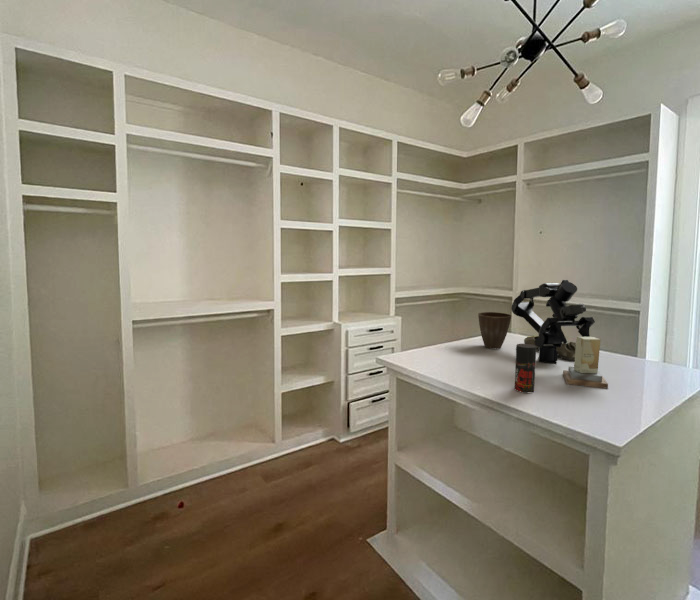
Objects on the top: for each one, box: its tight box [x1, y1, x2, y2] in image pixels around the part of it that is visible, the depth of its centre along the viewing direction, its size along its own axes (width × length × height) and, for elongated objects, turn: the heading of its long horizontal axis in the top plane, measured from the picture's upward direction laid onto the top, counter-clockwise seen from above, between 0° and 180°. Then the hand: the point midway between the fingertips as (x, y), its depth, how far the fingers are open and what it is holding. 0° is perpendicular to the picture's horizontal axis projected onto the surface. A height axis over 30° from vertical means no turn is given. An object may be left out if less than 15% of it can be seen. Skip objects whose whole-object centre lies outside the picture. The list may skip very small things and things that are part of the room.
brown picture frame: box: [562, 366, 609, 389], centre depth 140 cm, size 12×12×4 cm
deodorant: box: [514, 343, 537, 393], centre depth 130 cm, size 6×6×15 cm
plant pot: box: [477, 311, 512, 350], centre depth 190 cm, size 15×15×16 cm
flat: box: [523, 335, 576, 361], centre depth 181 cm, size 11×33×8 cm, turn 11°
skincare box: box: [573, 336, 601, 373], centre depth 138 cm, size 6×4×12 cm
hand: (577, 342), depth 147 cm, fingers open, 9 cm apart
